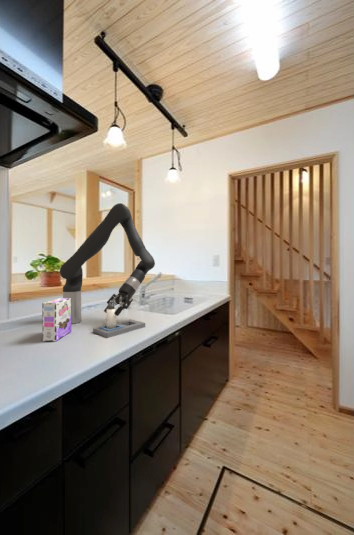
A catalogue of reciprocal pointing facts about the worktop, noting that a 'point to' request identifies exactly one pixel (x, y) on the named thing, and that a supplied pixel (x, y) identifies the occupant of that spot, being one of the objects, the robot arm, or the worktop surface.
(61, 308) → the candy box
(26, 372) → the worktop surface
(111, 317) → the cream upright block
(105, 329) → the grey socket board
